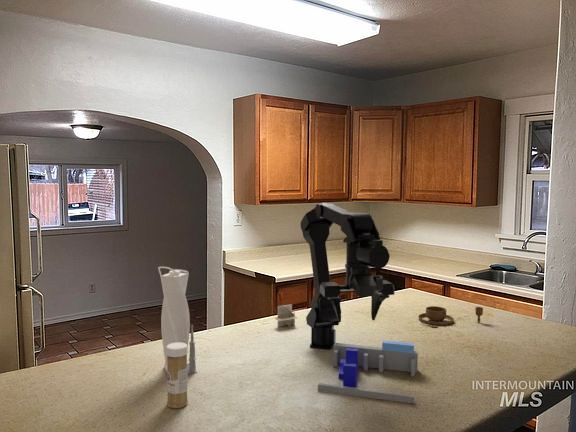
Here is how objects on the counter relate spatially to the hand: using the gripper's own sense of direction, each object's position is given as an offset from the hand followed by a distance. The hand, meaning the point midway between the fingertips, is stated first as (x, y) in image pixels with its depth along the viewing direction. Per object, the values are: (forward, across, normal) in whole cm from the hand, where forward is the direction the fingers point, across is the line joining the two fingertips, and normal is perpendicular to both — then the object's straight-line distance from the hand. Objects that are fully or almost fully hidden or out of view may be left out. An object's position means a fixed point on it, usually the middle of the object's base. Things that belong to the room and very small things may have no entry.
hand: (356, 320), depth 126 cm
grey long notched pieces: (+13, +1, -8) cm, 15 cm away
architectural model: (+14, -11, +40) cm, 43 cm away
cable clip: (+13, -4, -6) cm, 15 cm away
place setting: (+14, +44, +34) cm, 57 cm away
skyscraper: (+13, -46, +7) cm, 49 cm away
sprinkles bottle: (+13, -45, -13) cm, 49 cm away
